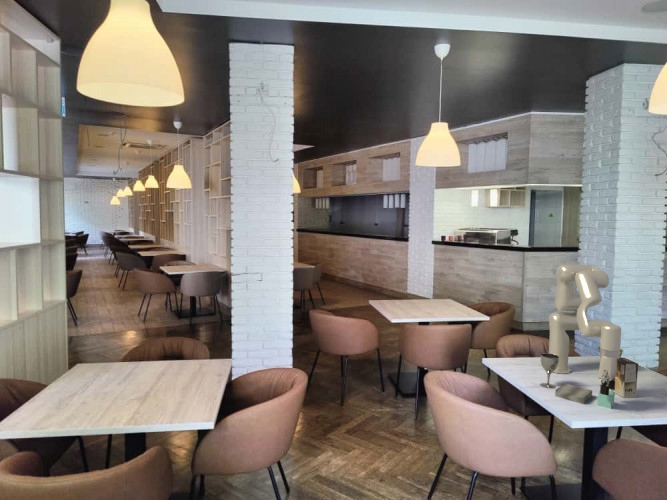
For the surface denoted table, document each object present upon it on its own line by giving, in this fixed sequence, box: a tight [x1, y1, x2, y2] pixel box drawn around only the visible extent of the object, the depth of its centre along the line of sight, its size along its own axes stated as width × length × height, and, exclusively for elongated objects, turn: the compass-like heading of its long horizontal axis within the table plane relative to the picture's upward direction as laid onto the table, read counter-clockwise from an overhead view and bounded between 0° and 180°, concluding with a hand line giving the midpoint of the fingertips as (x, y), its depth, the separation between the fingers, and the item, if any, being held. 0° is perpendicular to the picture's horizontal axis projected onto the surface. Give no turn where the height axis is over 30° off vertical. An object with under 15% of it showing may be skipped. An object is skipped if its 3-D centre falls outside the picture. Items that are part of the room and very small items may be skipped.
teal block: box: [597, 390, 616, 409], centre depth 198 cm, size 5×5×6 cm
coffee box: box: [610, 357, 639, 399], centre depth 211 cm, size 9×6×16 cm
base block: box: [554, 383, 593, 405], centre depth 207 cm, size 12×12×3 cm
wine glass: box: [539, 352, 559, 390], centre depth 219 cm, size 8×8×15 cm
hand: (607, 391), depth 197 cm, fingers open, 9 cm apart
